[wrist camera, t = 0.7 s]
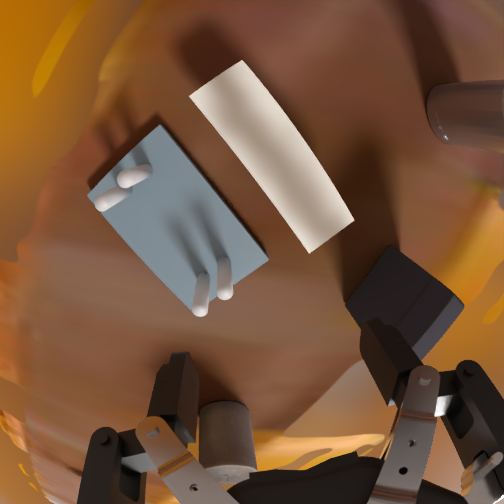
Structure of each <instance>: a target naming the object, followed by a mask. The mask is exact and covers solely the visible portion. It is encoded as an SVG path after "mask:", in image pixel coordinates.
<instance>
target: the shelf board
mask: <svg viewBox="0 0 504 504" xmlns="http://www.w3.org/2000/svg"><path fill="white" fill-rule="evenodd" d="M189 97H190V98H191V99H192V101H193V102H194V103H195V104H196V106H197V107H198V108H199V109H200V110H201V112H202V113H203V114H204V115H205V117H206V118H207V119H208V120H209V121H210V123H211V124H212V125H213V126H214V128H215V129H216V130H217V131H218V133H219V134H220V135H221V136H222V138H223V139H224V140H225V141H226V143H227V144H228V145H229V146H230V148H231V149H232V150H233V151H234V153H235V154H236V155H237V157H238V158H239V159H240V160H241V162H242V163H243V164H244V166H245V167H246V168H247V170H248V171H249V172H250V173H251V175H252V176H253V177H254V179H255V180H256V181H257V183H258V184H259V185H260V187H261V188H262V189H263V191H264V192H265V193H266V195H267V196H268V197H269V199H270V200H271V201H272V203H273V204H274V205H275V207H276V208H277V210H278V211H279V212H280V214H281V215H282V216H283V218H284V219H285V221H286V222H287V223H288V225H289V226H290V227H291V229H292V230H293V232H294V233H295V234H296V236H297V237H298V239H299V240H300V241H301V243H302V244H303V246H304V247H305V248H306V250H307V251H308V252H309V253H311V252H312V251H313V250H315V249H316V248H317V247H319V246H320V245H322V244H323V243H324V242H326V241H327V240H328V239H330V238H331V237H333V236H334V235H335V234H337V233H338V232H339V231H341V230H342V229H343V228H345V227H346V226H347V225H349V224H350V223H351V222H353V221H354V218H353V217H352V215H351V213H350V212H349V210H348V208H347V206H346V205H345V203H344V201H343V200H342V198H341V196H340V195H339V193H338V191H337V190H336V188H335V186H334V185H333V183H332V182H331V180H330V178H329V177H328V175H327V174H326V172H325V170H324V169H323V167H322V166H321V164H320V163H319V161H318V160H317V158H316V157H315V155H314V154H313V152H312V151H311V149H310V148H309V146H308V145H307V143H306V142H305V140H304V139H303V138H302V136H301V135H300V133H299V132H298V131H297V129H296V128H295V126H294V125H293V124H292V122H291V121H290V119H289V118H288V117H287V115H286V114H285V113H284V111H283V110H282V109H281V107H280V106H279V105H278V103H277V102H276V101H275V99H274V98H273V97H272V96H271V94H270V93H269V92H268V90H267V89H266V88H265V87H264V85H263V84H262V83H261V82H260V80H259V79H258V78H257V77H256V76H255V74H254V73H253V72H252V71H251V70H250V68H249V67H248V66H247V65H246V64H245V63H244V61H243V60H241V61H240V62H238V63H237V64H235V65H233V66H232V67H230V68H229V69H227V70H226V71H224V72H223V73H221V74H220V75H218V76H217V77H215V78H214V79H212V80H211V81H209V82H208V83H207V84H205V85H204V86H202V87H201V88H200V89H198V90H197V91H196V92H194V93H193V94H192V95H190V96H189Z"/></svg>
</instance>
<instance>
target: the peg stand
mask: <svg viewBox="0 0 504 504" xmlns="http://www.w3.org/2000/svg"><path fill="white" fill-rule="evenodd" d="M87 196H88V197H89V199H90V200H91V201H92V202H93V204H94V205H95V207H96V209H97V210H99V211H100V212H101V213H102V215H103V216H104V217H105V218H106V219H107V221H108V222H109V223H110V224H111V225H112V227H113V228H114V229H115V230H116V231H117V232H118V234H119V235H120V236H121V237H122V238H123V239H124V240H125V242H126V243H127V244H128V245H129V246H130V247H131V248H132V249H133V250H134V252H135V253H136V254H137V255H138V256H139V257H140V258H141V259H142V260H143V261H144V263H145V264H146V265H147V266H148V267H149V268H150V269H151V270H152V271H153V272H154V273H155V274H156V275H157V276H158V277H159V278H160V280H161V281H162V282H163V283H164V284H165V285H166V286H167V287H168V288H169V289H170V290H171V291H172V292H173V293H174V294H175V295H176V296H177V297H178V298H179V299H180V300H181V301H182V302H183V303H184V304H185V305H186V306H187V307H188V308H189V309H190V310H191V311H192V312H193V314H194V315H196V316H199V317H202V316H205V315H206V314H207V312H208V302H210V301H211V300H213V299H214V298H216V297H217V296H218V297H219V298H220V299H222V300H227V299H230V298H231V297H232V295H233V285H234V284H236V283H237V282H238V281H240V280H241V279H243V278H244V277H246V276H247V275H248V274H250V273H251V272H253V271H254V270H255V269H257V268H258V267H260V266H261V265H262V264H264V263H265V262H267V261H268V260H269V258H268V255H267V254H266V252H265V251H264V250H263V249H262V247H261V246H260V245H259V244H258V242H257V241H256V240H255V239H254V237H253V236H252V235H251V234H250V232H249V231H248V230H247V229H246V227H245V226H244V225H243V224H242V222H241V221H240V220H239V219H238V217H237V216H236V215H235V214H234V212H233V211H232V210H231V209H230V207H229V206H228V205H227V204H226V202H225V201H224V200H223V199H222V197H221V196H220V195H219V194H218V192H217V191H216V190H215V189H214V187H213V186H212V185H211V184H210V183H209V181H208V180H207V179H206V178H205V176H204V175H203V174H202V173H201V171H200V170H199V169H198V168H197V166H196V165H195V164H194V163H193V162H192V160H191V159H190V158H189V157H188V155H187V154H186V153H185V152H184V150H183V149H182V148H181V147H180V146H179V144H178V143H177V142H176V141H175V139H174V138H173V137H172V136H171V135H170V133H169V132H168V131H167V130H166V128H165V127H164V126H163V125H159V126H158V127H156V128H155V129H154V130H153V131H152V132H151V133H150V134H148V135H147V136H146V137H145V138H144V139H143V140H142V141H141V142H139V143H138V144H137V145H136V146H135V147H134V148H133V149H132V150H131V151H130V152H129V153H128V154H127V155H126V156H125V157H124V158H123V159H122V160H121V161H120V162H118V163H117V164H116V165H115V166H114V167H113V169H112V170H111V171H110V172H109V173H108V174H107V175H106V176H105V177H104V178H103V179H102V180H101V181H100V182H99V183H98V184H97V185H96V186H95V187H94V189H93V190H92V191H91V192H90V193H89V194H88V195H87Z"/></svg>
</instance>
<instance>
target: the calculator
mask: <svg viewBox="0 0 504 504" xmlns="http://www.w3.org/2000/svg"><path fill="white" fill-rule="evenodd" d="M345 306H346V308H347V309H348V311H349V312H350V314H351V315H352V317H353V318H354V320H355V321H356V323H357V324H358V326H359V327H360V329H361V325H362V321H364V320H367V319H371V318H375V317H379V318H380V320H381V321H382V322H383V324H384V325H385V326H386V325H389V324H390V325H391V326H393V327H395V328H396V329H398V330H399V332H400V333H401V334H402V336H403V338H405V340H406V341H407V342H408V344H409V345H410V346H411V348H412V349H413V351H414V352H415V353H416V355H417V356H418V358H419V359H420V360H422V359H423V358H424V357H425V356H426V354H427V353H428V352H429V351H430V350H431V349H432V348H433V347H434V346H435V344H436V343H437V342H438V341H439V340H440V338H441V337H442V336H443V335H444V333H445V332H446V331H447V329H448V328H449V327H450V326H451V325H452V324H453V322H454V321H455V319H456V318H457V317H458V316H459V314H460V313H461V312H462V310H463V309H464V304H463V302H462V301H461V300H460V299H459V298H458V297H457V296H456V295H455V294H454V293H453V292H452V291H451V290H450V289H448V288H447V287H446V286H445V285H443V284H442V283H441V282H440V281H438V280H437V279H436V278H434V277H433V276H432V275H430V274H429V273H428V272H426V271H425V270H424V269H423V268H421V267H420V266H419V265H417V264H416V263H415V262H413V261H412V260H411V259H409V258H408V257H407V256H405V255H404V254H403V253H401V252H400V251H398V250H397V249H396V248H394V247H393V246H391V245H390V246H388V247H387V249H386V250H385V252H384V253H383V254H382V256H381V257H380V259H379V260H378V261H377V263H376V264H375V265H374V267H373V268H372V270H371V271H370V272H369V274H368V275H367V276H366V277H365V279H364V280H363V281H362V283H361V284H360V285H359V287H358V288H357V289H356V290H355V292H354V293H353V294H352V295H351V297H350V298H349V299H348V300H347V302H346V303H345Z"/></svg>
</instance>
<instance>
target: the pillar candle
mask: <svg viewBox="0 0 504 504" xmlns="http://www.w3.org/2000/svg"><path fill="white" fill-rule="evenodd" d="M199 417H200V422H199V463H200V464H201V465H202V466H203V468H204V469H205V470H206V471H207V472H208V473H209V474H210V475H211V476H212V477H213V478H214V479H215V480H216V481H217V482H218V483H223V484H229V483H239V482H241V481H244V480H246V479H249V473H251V472H258V470H257V464H256V457H255V450H254V442H253V434H252V427H251V420H250V413H249V411H248V409H247V408H246V407H245V406H244V405H242V404H240V403H237V402H232V401H218V402H214V403H210V404H207V405H205V406H203V407H202V408H201V410H200V412H199Z"/></svg>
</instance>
